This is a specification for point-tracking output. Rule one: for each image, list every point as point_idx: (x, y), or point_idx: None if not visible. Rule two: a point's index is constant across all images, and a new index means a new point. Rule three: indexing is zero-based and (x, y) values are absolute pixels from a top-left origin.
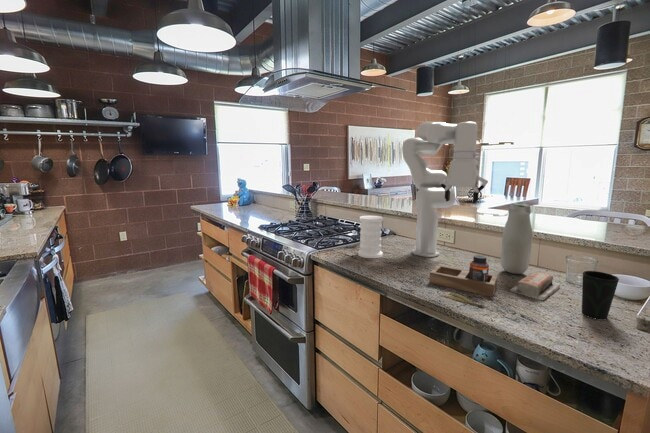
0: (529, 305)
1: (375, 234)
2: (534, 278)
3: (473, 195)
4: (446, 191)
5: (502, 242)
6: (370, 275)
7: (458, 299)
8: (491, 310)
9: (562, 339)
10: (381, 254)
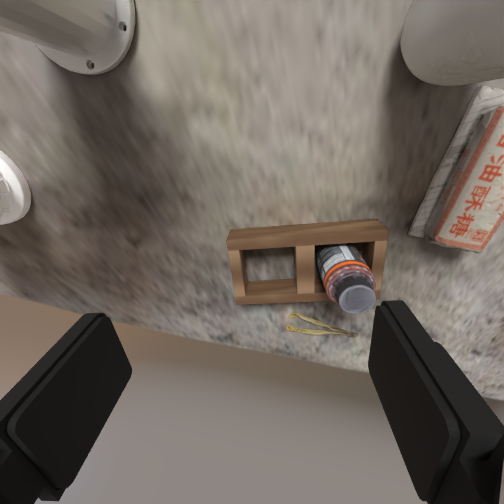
0: (437, 283)
1: None
2: (492, 190)
3: (404, 455)
4: (44, 493)
5: (458, 37)
6: (128, 317)
7: (313, 332)
8: (369, 336)
9: (460, 364)
10: (19, 181)
